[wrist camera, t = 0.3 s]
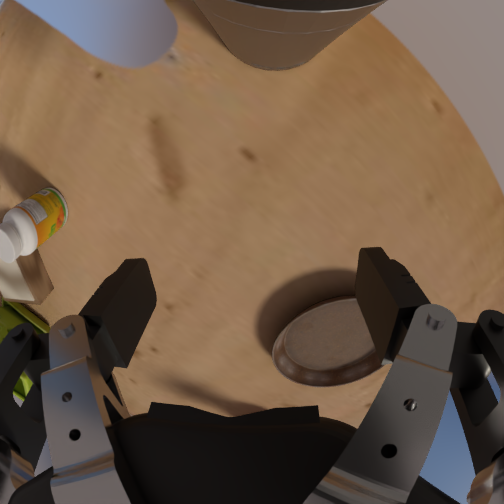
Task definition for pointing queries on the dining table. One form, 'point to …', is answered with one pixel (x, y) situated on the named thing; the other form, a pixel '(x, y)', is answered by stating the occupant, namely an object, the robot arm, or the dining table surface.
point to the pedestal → (25, 280)
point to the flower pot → (7, 319)
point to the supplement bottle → (31, 223)
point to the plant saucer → (326, 345)
